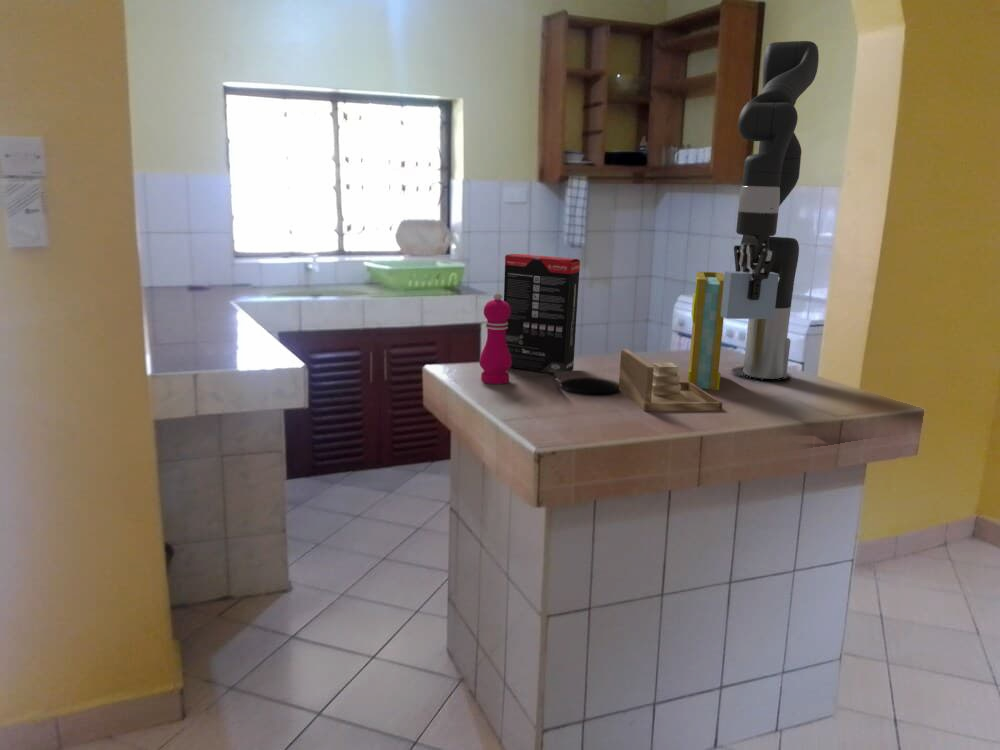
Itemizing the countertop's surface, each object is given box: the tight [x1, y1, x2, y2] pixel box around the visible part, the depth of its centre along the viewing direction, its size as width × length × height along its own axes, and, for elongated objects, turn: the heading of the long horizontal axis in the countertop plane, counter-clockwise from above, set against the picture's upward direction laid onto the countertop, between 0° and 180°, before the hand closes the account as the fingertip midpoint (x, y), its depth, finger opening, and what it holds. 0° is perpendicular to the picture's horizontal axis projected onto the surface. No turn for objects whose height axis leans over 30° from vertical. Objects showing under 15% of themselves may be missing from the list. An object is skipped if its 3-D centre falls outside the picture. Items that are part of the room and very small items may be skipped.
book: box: [687, 271, 725, 391], centre depth 182 cm, size 17×7×25 cm, turn 168°
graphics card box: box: [503, 253, 581, 375], centre depth 191 cm, size 17×7×27 cm, turn 65°
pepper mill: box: [479, 292, 512, 385], centre depth 180 cm, size 7×7×20 cm
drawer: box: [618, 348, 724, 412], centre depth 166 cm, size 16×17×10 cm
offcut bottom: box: [652, 384, 681, 395], centre depth 172 cm, size 6×4×2 cm, turn 99°
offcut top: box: [652, 362, 679, 376], centre depth 171 cm, size 4×4×2 cm
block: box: [721, 270, 779, 320], centre depth 161 cm, size 10×3×9 cm, turn 99°
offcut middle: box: [653, 372, 680, 386], centre depth 172 cm, size 5×4×2 cm
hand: (749, 298), depth 161 cm, fingers closed on block, 3 cm apart
